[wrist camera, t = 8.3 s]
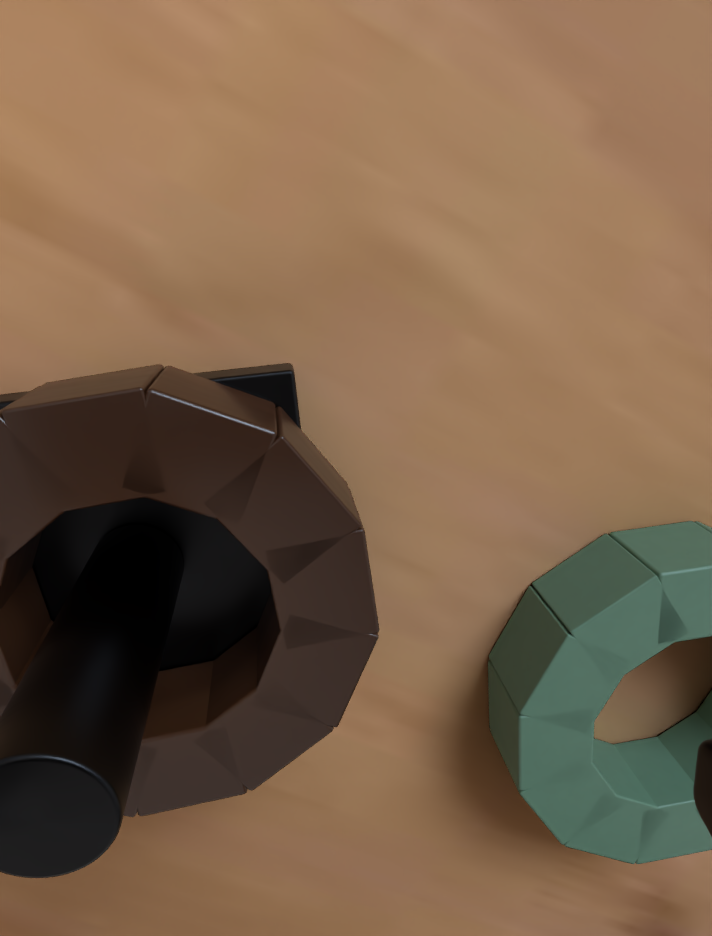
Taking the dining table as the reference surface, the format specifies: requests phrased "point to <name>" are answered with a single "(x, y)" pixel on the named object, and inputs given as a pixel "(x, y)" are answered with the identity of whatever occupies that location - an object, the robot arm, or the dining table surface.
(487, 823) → the dining table surface
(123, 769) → the peg stand
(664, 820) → the sage ring
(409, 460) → the dining table surface
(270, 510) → the walnut ring
